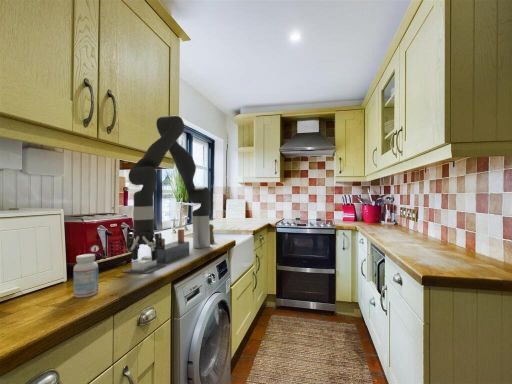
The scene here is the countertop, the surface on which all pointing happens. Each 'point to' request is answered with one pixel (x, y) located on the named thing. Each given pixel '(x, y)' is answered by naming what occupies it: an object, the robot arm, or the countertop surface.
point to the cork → (211, 233)
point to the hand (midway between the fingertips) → (144, 260)
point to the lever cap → (143, 264)
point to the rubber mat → (144, 271)
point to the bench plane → (173, 249)
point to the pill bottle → (85, 276)
